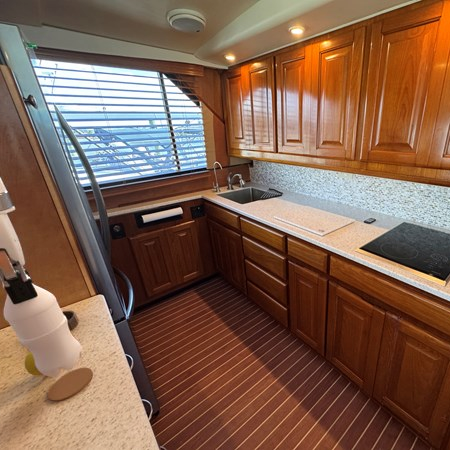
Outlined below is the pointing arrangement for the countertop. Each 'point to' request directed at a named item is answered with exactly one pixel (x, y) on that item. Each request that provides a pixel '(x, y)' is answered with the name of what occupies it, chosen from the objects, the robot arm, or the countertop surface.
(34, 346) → the water bottle
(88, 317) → the countertop surface
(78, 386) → the cork coaster
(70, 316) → the ring
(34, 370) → the lemon
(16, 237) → the robot arm
